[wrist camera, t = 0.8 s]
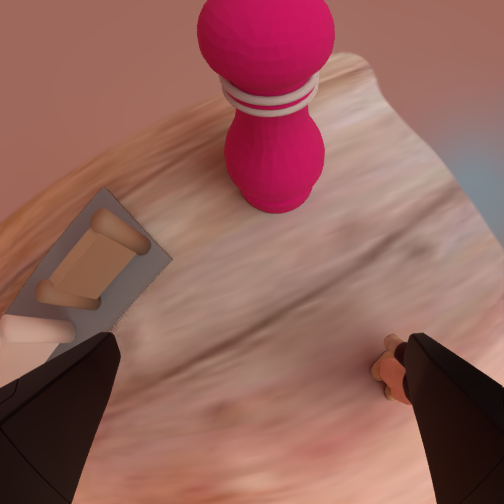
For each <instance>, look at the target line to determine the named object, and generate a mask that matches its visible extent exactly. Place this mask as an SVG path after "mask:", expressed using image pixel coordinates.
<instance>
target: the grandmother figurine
mask: <svg viewBox="0 0 504 504" xmlns="http://www.w3.org/2000/svg"><path fill="white" fill-rule="evenodd" d="M384 346H385V348H386V349H387V350H388V351H386V352H384V353H383V354H382V355H381V357H380V358H379V359H378V360H377V361H376V362H375V363H374V364H373V366H372V368H371V374H372V376H373V377H374V379H376V380H377V381H382V380H383V381H384V382H385V383H386V384H387V386H386V388H385V395H386V397H387V399H388V400H390V401H394V400H397V401H399V402H402V403H404V404H407V405H412V402H411V397H410V391H409V385H408V380H407V375H406V370H405V365H404V354H405V350H406V346H407V342H404V341H403V340H401V339H399V337H398V336H397V335H395V334H390V335H388V336H387V337H386V338H385V340H384Z"/></svg>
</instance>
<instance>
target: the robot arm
mask: <svg viewBox="0 0 504 504" xmlns="http://www.w3.org/2000/svg"><path fill="white" fill-rule="evenodd" d="M120 358H121V355H120V350H119V348H118V345H117V342H116V339H115V336H114V334H113V333H111V332H99V333H98V334H96V335H94V336H92V337H90V338H89V339H87V340H85V341H83V342H81V343H80V344H78V345H76V346H74V347H73V348H71V349H69V350H67V351H65V352H64V353H62V354H60V355H58V356H56V357H55V358H53V359H51V360H49V361H47V362H46V363H44V364H42V365H40V366H39V367H37V368H35V369H33V370H31V371H30V372H28V373H26V374H24V375H23V376H21V377H19V378H17V379H15V380H14V381H12V382H10V383H8V384H6V385H4V386H3V387H1V388H0V504H72V501H73V498H74V494H75V491H76V488H77V485H78V482H79V479H80V476H81V473H82V470H83V468H84V465H85V462H86V459H87V456H88V453H89V451H90V448H91V445H92V442H93V440H94V437H95V434H96V432H97V429H98V426H99V424H100V421H101V418H102V416H103V413H104V411H105V408H106V406H107V403H108V400H109V397H110V394H111V391H112V387H113V384H114V380H115V376H116V373H117V370H118V366H119V363H120ZM404 365H405V370H406V375H407V380H408V385H409V391H410V397H411V402H412V406H413V410H414V413H415V416H416V420H417V423H418V427H419V431H420V434H421V438H422V442H423V445H424V449H425V453H426V457H427V461H428V465H429V470H430V474H431V478H432V483H433V487H434V492H435V497H436V502H437V504H504V387H502V385H500V384H499V383H497V382H496V381H495V380H493V379H492V378H490V377H489V376H487V375H486V374H484V373H483V372H481V371H480V370H478V369H477V368H475V367H474V366H473V365H471V364H470V363H468V362H467V361H465V360H464V359H462V358H461V357H459V356H458V355H456V354H455V353H453V352H452V351H450V350H449V349H447V348H446V347H444V346H443V345H441V344H440V343H438V342H437V341H435V340H434V339H432V338H431V337H429V336H428V335H426V334H424V333H413V334H411V335H410V336H409V339H408V343H407V346H406V350H405V354H404Z"/></svg>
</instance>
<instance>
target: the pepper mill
mask: <svg viewBox="0 0 504 504" xmlns="http://www.w3.org/2000/svg"><path fill="white" fill-rule="evenodd" d="M197 37H198V42H199V48H200V51H201V53H202V55H203V57H204V59H205V60H206V62H207V63H208V64H209V66H210V67H211V68H212V69H213V70H214V71H215V72H216V73H218V74H219V79H220V82H221V84H222V91H223V94H224V96H225V97H226V99H227V100H228V101H229V103H230V104H232V105H233V106H234V107H235V108H236V114H235V118H234V120H233V122H232V124H231V126H230V128H229V130H228V133H227V137H226V142H225V151H224V154H225V161H226V167H227V170H228V173H229V175H230V177H231V179H232V180H233V182H234V183H235V184H236V185H237V186H238V187H239V188H240V190H241V192H242V194H243V196H244V197H245V199H246V200H247V201H248V202H249V203H250V204H251V205H252V206H253V207H255V208H257V209H259V210H261V211H264V212H268V213H285V212H288V211H291V210H294V209H296V208H297V207H299V206H300V205H301V204H303V203H304V202H305V200H306V199H307V198H308V196H309V195H310V193H311V190H312V187H313V185H314V184H315V183H316V181H317V180H318V178H319V176H320V175H321V173H322V169H323V166H324V154H325V148H324V143H323V139H322V136H321V133H320V131H319V129H318V127H317V125H316V124H315V122H314V121H313V120H312V118H311V117H310V116H309V113H308V104H309V103H310V102H311V101H312V99H313V98H314V96H315V95H316V93H317V90H318V84H319V83H318V79H319V74H320V69H321V68H322V67H323V66H324V64H325V63H326V62H327V60H328V58H329V57H330V55H331V53H332V49H333V45H334V40H335V31H334V21H333V18H332V15H331V12H330V10H329V8H328V5H327V4H326V3H325V1H324V0H207V2H206V3H205V4H204V6H203V8H202V10H201V13H200V15H199V19H198V24H197Z"/></svg>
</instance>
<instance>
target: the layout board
mask: <svg viewBox="0 0 504 504" xmlns="http://www.w3.org/2000/svg"><path fill="white" fill-rule="evenodd" d="M172 260H173V259H172V258H171V257H170V256H169V255H168V254H167V253H166V252H165V251H164V250H163V249H162V248H161V247H160V246H159V245H158V244H157V242H156V241H155V240H154V239H153V238H152V237H151V236H150V235H149V234H148V233H147V232H146V231H145V230H144V229H143V228H142V227H141V226H140V224H139V223H138V222H137V221H136V220H135V219H134V218H133V217H132V216H131V215H130V214H129V213H128V211H127V210H126V209H125V208H124V207H123V206H122V205H121V204H120V203H119V202H118V200H117V199H116V198H115V197H114V196H113V195H112V194H111V193H110V192H109V190H108V189H106V188H105V187H103V188H102V189H101V190H100V191H99V192H98V193H97V194H96V195H95V197H94V198H93V199H92V200H91V201H90V202H89V203H88V204H87V206H86V207H85V208H84V209H83V210H82V211H81V212H80V214H79V215H78V216H77V217H76V218H75V219H74V221H73V222H72V223H71V224H70V225H69V227H68V228H67V229H66V230H65V232H64V233H63V234H62V235H61V236H60V238H59V239H58V240H57V241H56V243H55V244H54V245H53V247H52V248H51V249H50V250H49V252H48V253H47V254H46V256H45V257H44V258H43V260H42V261H41V262H40V264H39V265H38V266H37V268H36V269H35V270H34V272H33V273H32V275H31V276H30V277H29V279H28V280H27V282H26V283H25V284H24V286H23V287H22V289H21V290H20V292H19V293H18V295H17V296H16V298H15V299H14V301H13V302H12V304H11V305H10V307H9V308H8V310H7V311H6V313H5V314H8V315H16V316H25V317H34V318H43V319H53V320H64V321H70V322H72V323H73V325H74V326H75V329H76V336H75V339H74V340H73V341H72V342H71V343H59V345H58V346H57V347H56V349H55V350H54V351H53V352H52V354H51V355H50V356H49V358H48V359H47V360H46V362H47V361H49V360H51V359H53V358H55V357H56V356H58V355H60V354H62V353H64V352H65V351H67V350H69V349H71V348H73V347H74V346H76V345H78V344H80V343H81V342H83V341H85V340H87V339H89V338H90V337H92V336H94V335H96V334H98V333H99V332H108V330H109V329H110V328H111V327H112V326H113V325H114V324H115V322H116V321H117V320H118V319H119V318H120V317H121V316H122V315H123V313H124V312H125V311H126V310H127V309H128V308H129V307H130V306H131V304H132V303H133V302H134V301H135V300H136V299H137V298H138V297H139V296H140V294H141V293H142V292H143V291H144V290H145V289H146V288H147V287H148V286H149V285H150V283H151V282H152V281H153V280H154V279H155V278H156V277H157V276H158V275H159V274H160V273H161V272H162V270H163V269H164V268H165V267H166V266H167V265H168V264H169V263H170V262H171V261H172ZM46 362H45V363H46Z"/></svg>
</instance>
